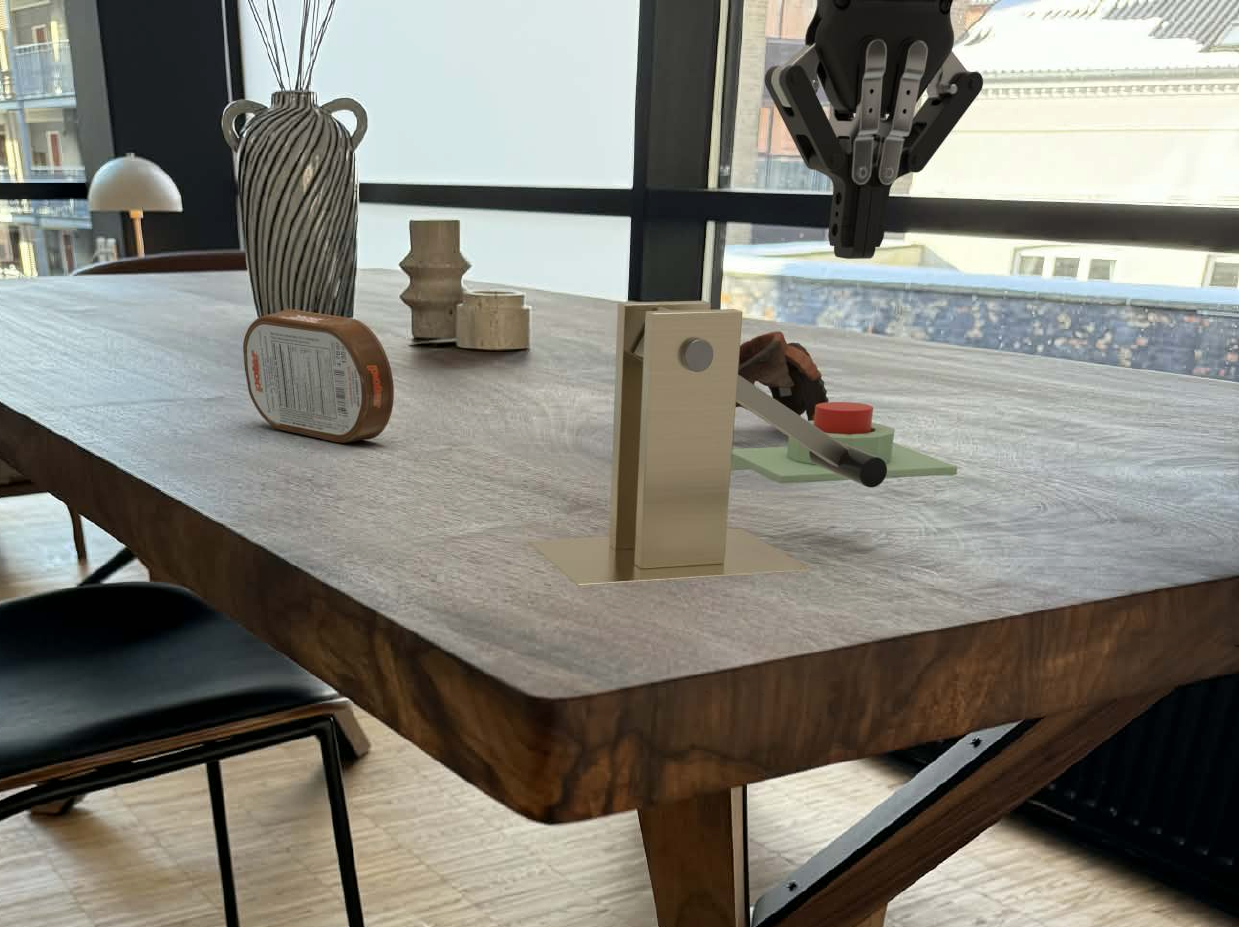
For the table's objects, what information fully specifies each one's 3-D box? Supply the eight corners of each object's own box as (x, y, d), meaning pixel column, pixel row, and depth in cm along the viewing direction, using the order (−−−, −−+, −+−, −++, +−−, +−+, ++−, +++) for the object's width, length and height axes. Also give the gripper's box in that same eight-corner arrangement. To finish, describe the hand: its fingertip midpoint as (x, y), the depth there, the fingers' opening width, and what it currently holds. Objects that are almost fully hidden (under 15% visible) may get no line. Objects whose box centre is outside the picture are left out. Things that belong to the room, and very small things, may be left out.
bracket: (740, 552, 82) (760, 295, 76) (809, 595, 75) (838, 313, 68) (527, 565, 80) (530, 300, 73) (577, 611, 72) (584, 319, 66)
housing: (888, 467, 103) (894, 413, 102) (954, 494, 96) (962, 436, 94) (723, 475, 101) (727, 420, 99) (778, 503, 93) (783, 444, 91)
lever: (818, 478, 80) (844, 436, 79) (870, 501, 75) (898, 457, 74) (620, 348, 74) (645, 301, 73) (661, 364, 69) (689, 314, 68)
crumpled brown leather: (826, 459, 108) (776, 353, 104) (713, 505, 114) (663, 406, 110) (866, 391, 116) (822, 290, 112) (759, 438, 122) (713, 343, 118)
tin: (399, 446, 110) (395, 320, 106) (365, 451, 108) (360, 323, 104) (274, 420, 119) (266, 304, 115) (241, 425, 117) (231, 307, 113)
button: (854, 429, 99) (857, 400, 98) (879, 438, 96) (883, 409, 95) (803, 431, 98) (806, 402, 97) (827, 441, 95) (830, 411, 94)
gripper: (821, -127, 74) (782, 264, 83) (1048, -110, 78) (989, 262, 86) (751, -110, 80) (721, 253, 89) (965, -94, 84) (916, 251, 93)
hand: (853, 257), depth 88 cm, fingers closed
